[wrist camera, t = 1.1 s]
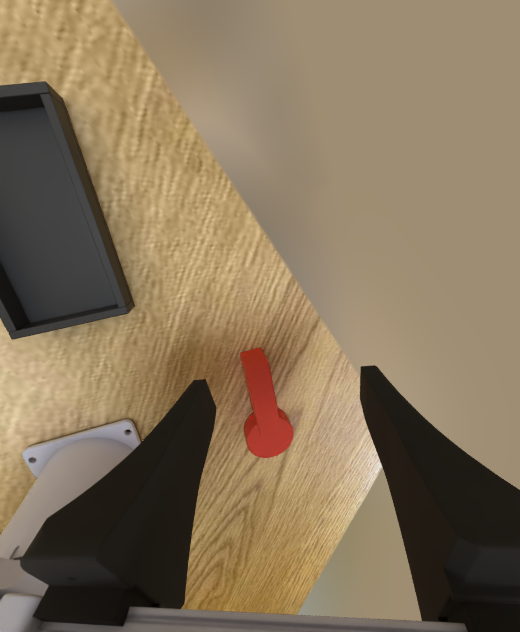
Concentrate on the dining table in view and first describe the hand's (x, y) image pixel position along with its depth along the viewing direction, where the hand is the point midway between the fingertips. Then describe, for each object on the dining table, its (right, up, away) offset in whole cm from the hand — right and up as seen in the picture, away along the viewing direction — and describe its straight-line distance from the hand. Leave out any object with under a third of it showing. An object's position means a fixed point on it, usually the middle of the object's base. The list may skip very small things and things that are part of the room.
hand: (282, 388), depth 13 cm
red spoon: (-1, -4, +12) cm, 12 cm away
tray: (-15, +9, +4) cm, 18 cm away
